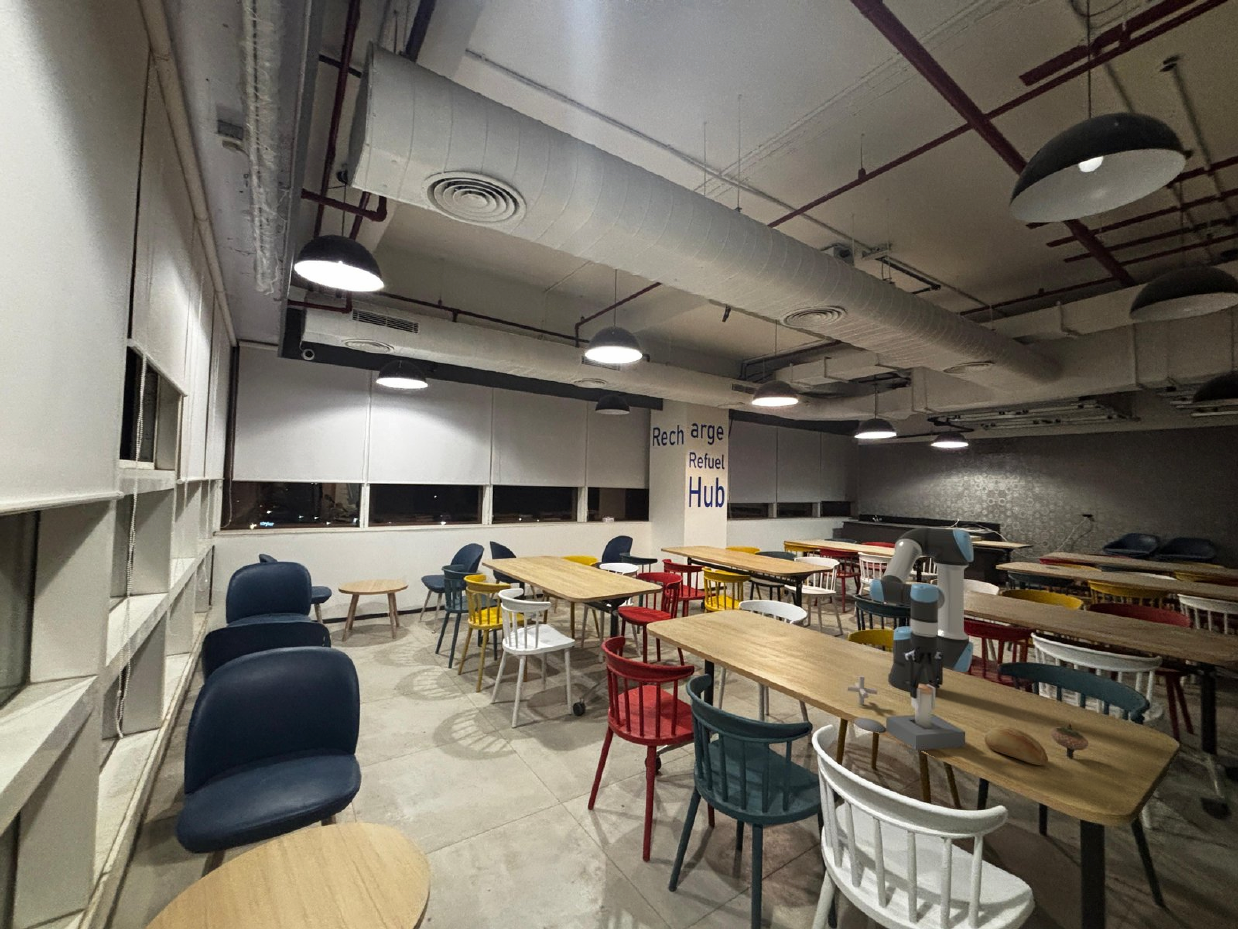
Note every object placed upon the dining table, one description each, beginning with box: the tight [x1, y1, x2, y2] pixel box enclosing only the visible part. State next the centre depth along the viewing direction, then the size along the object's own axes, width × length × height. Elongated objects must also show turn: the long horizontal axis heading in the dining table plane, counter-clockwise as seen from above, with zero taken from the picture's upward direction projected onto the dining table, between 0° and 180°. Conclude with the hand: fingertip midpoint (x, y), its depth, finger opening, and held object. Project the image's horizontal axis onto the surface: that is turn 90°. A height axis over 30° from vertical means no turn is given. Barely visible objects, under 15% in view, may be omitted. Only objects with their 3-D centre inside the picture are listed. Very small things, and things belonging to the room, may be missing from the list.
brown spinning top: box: [1050, 723, 1089, 759], centre depth 146 cm, size 8×8×10 cm
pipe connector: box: [845, 675, 878, 706], centre depth 178 cm, size 10×10×10 cm
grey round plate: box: [853, 717, 886, 733], centre depth 161 cm, size 9×9×1 cm
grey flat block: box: [885, 713, 966, 752], centre depth 154 cm, size 18×12×4 cm, turn 102°
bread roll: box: [984, 725, 1049, 766], centre depth 145 cm, size 10×15×8 cm, turn 39°
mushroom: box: [914, 684, 933, 729], centre depth 154 cm, size 5×5×12 cm
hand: (923, 707), depth 154 cm, fingers closed on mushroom, 5 cm apart
